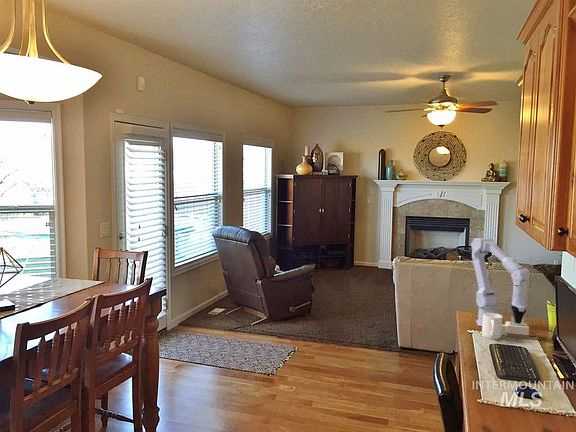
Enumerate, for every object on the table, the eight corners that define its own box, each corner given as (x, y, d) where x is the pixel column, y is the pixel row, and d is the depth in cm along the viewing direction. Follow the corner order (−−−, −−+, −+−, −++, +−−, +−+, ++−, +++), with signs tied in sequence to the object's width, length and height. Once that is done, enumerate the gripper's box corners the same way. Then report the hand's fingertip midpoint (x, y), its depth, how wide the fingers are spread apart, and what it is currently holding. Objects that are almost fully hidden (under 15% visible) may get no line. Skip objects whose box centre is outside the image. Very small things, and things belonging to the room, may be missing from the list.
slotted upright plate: (483, 330, 230) (484, 319, 230) (525, 334, 226) (526, 323, 225) (485, 334, 224) (486, 323, 223) (528, 339, 219) (529, 327, 218)
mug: (502, 343, 212) (503, 321, 211) (482, 340, 215) (484, 318, 214) (500, 335, 223) (501, 314, 222) (481, 332, 226) (482, 311, 225)
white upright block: (510, 329, 225) (511, 315, 224) (522, 331, 223) (523, 316, 223) (511, 331, 223) (512, 316, 222) (523, 332, 222) (524, 317, 221)
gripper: (532, 298, 214) (530, 328, 215) (525, 291, 228) (523, 319, 229) (515, 297, 216) (513, 326, 217) (509, 290, 229) (507, 317, 231)
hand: (517, 322), depth 223 cm, fingers closed on white upright block, 2 cm apart
